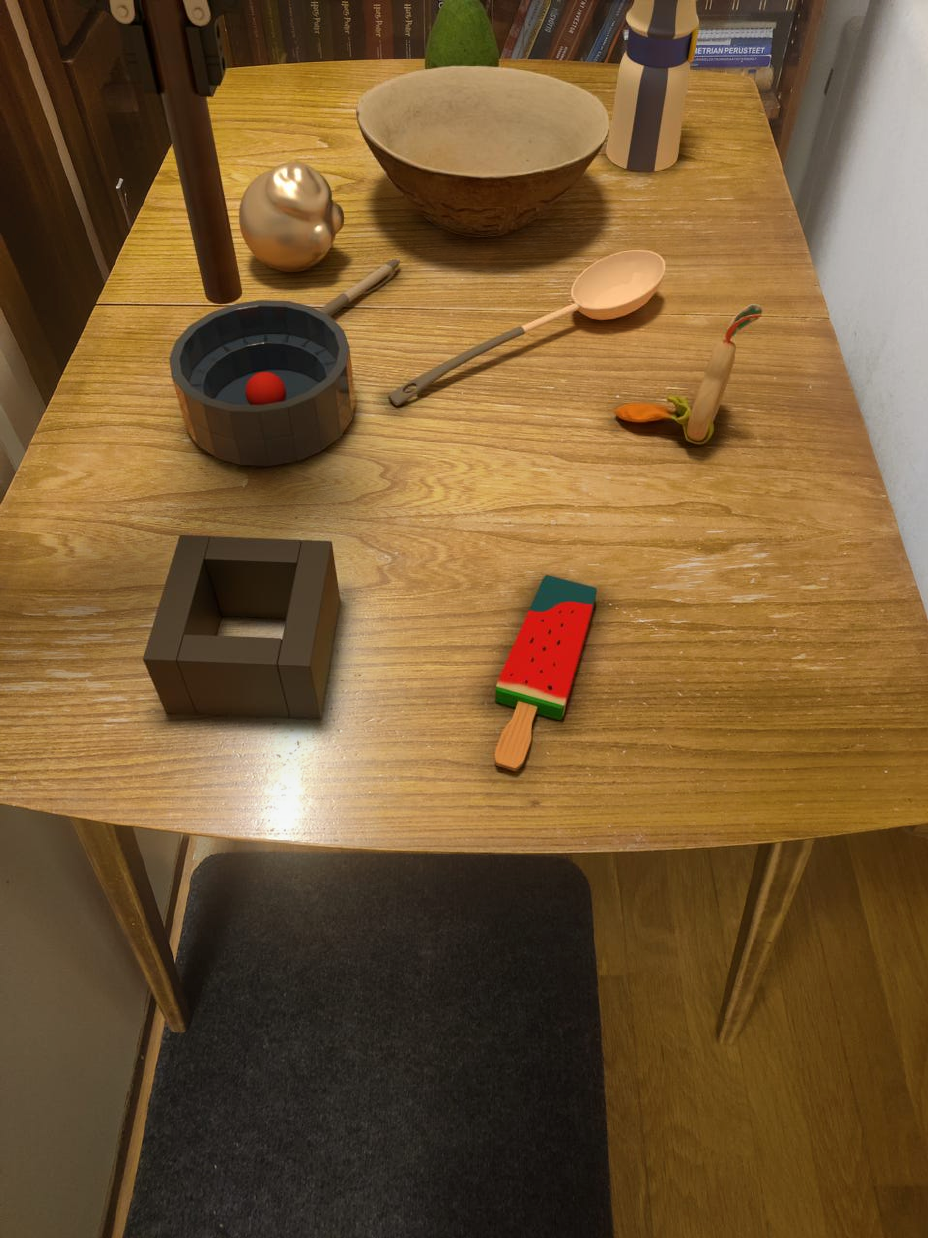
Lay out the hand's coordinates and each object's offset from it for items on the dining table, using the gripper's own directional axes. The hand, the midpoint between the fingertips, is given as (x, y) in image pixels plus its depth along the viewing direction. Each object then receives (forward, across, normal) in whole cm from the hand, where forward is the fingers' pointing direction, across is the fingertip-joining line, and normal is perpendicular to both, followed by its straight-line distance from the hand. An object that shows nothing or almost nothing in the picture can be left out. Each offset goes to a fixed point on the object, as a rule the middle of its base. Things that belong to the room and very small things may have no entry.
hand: (183, 88), depth 55 cm
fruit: (+28, +14, +59) cm, 67 cm away
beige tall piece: (+28, +33, +7) cm, 44 cm away
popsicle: (+29, +22, -19) cm, 41 cm away
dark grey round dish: (+28, 0, +6) cm, 29 cm away
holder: (+28, +3, -18) cm, 34 cm away
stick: (+13, 0, 0) cm, 13 cm away
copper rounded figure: (+29, -1, +27) cm, 39 cm away
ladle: (+28, +21, +16) cm, 39 cm away
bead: (+26, 0, +6) cm, 27 cm away
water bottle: (+28, +34, +50) cm, 66 cm away
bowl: (+28, +16, +38) cm, 50 cm away
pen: (+29, +5, +21) cm, 36 cm away
